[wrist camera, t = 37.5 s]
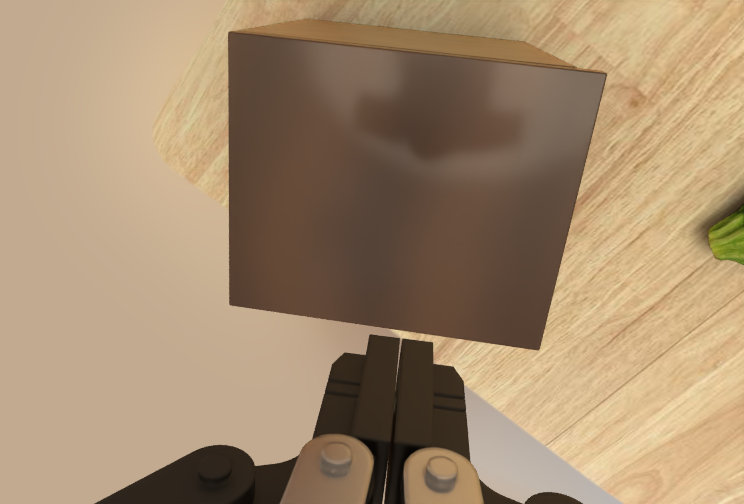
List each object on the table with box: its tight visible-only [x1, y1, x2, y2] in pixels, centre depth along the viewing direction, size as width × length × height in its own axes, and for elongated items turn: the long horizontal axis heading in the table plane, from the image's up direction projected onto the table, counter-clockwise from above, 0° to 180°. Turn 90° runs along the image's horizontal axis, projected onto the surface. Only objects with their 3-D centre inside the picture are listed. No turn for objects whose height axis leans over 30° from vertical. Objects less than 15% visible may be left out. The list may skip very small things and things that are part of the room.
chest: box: [238, 19, 577, 68], centre depth 32 cm, size 14×12×14 cm
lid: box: [228, 31, 607, 350], centre depth 25 cm, size 14×12×1 cm
